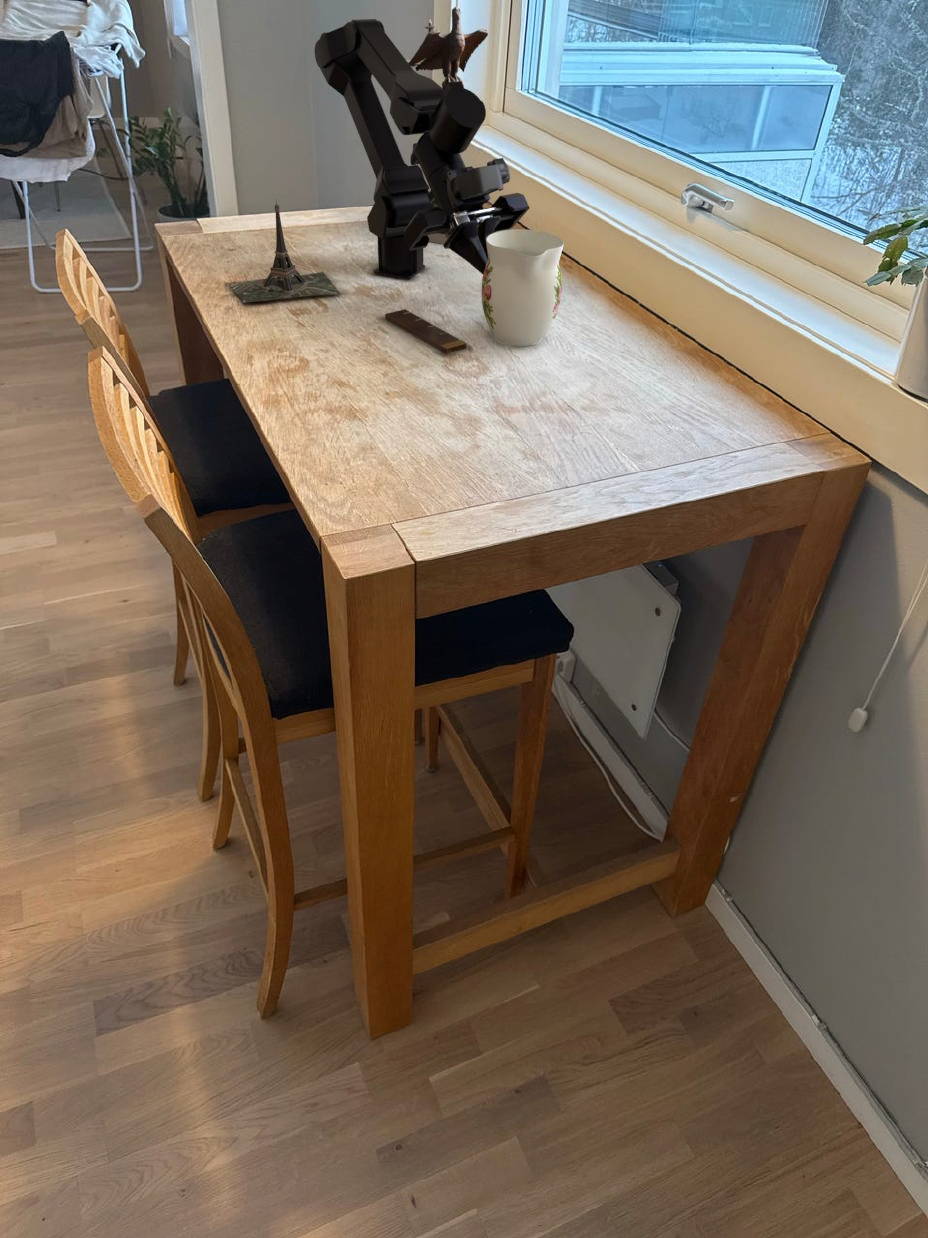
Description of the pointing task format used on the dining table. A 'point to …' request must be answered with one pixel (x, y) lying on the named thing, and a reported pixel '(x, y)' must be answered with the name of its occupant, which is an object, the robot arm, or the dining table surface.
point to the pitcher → (521, 285)
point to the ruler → (426, 331)
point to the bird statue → (447, 62)
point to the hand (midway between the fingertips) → (491, 276)
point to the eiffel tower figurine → (284, 278)
